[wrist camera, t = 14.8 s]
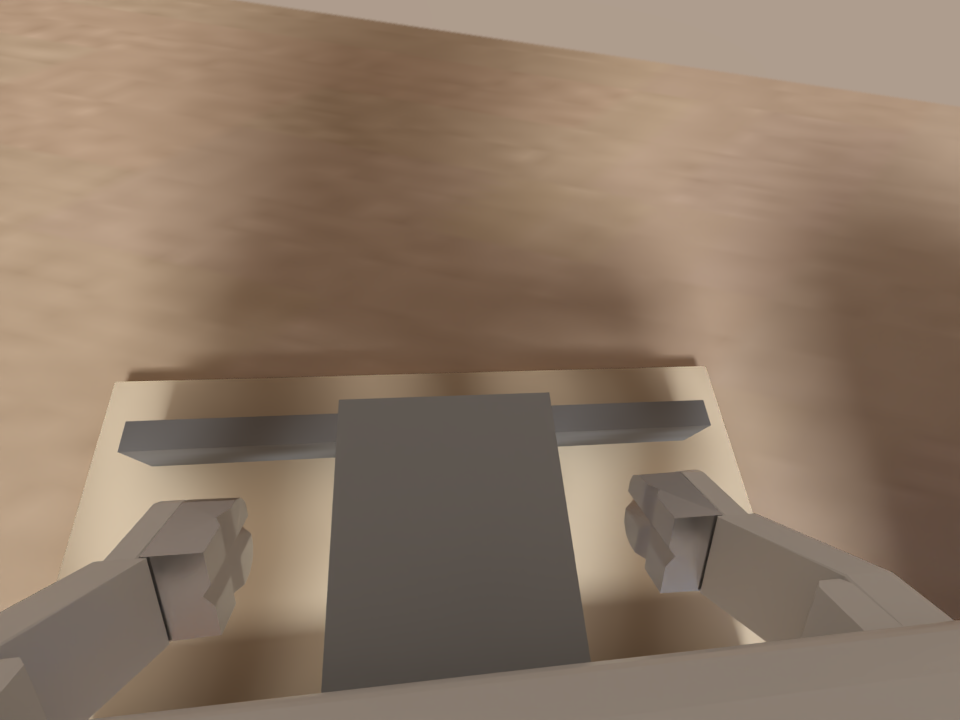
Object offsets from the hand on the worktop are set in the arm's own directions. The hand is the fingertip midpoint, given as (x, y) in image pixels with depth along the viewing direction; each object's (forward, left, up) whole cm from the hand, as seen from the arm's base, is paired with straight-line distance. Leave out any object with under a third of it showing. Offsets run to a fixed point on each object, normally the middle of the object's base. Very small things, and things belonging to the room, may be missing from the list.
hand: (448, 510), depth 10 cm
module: (0, -1, -7) cm, 7 cm away
